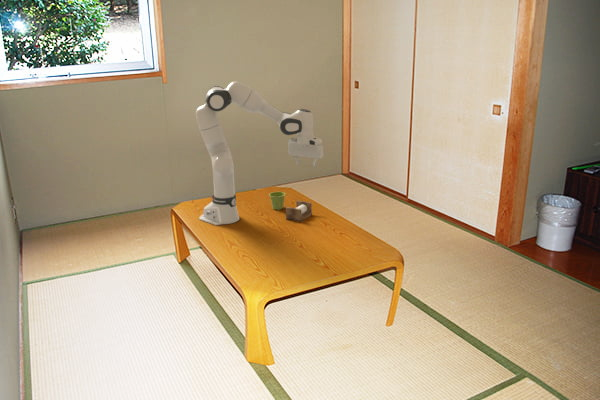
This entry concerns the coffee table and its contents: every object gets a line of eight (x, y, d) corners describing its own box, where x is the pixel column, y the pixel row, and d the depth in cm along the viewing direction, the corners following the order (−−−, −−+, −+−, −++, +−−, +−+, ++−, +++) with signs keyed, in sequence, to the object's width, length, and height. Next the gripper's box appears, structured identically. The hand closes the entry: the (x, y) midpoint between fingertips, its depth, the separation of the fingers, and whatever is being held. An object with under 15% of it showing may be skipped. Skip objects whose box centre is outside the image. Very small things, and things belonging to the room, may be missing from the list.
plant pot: (267, 207, 309) (266, 193, 306) (282, 204, 313) (281, 190, 310) (273, 212, 301) (272, 197, 298) (288, 209, 305) (288, 195, 302)
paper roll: (298, 219, 288) (301, 211, 286) (291, 215, 290) (293, 207, 288) (306, 214, 295) (308, 206, 293) (298, 210, 297) (300, 202, 294)
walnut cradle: (286, 219, 290) (285, 207, 287) (297, 212, 300) (297, 200, 298) (300, 222, 285) (300, 210, 283) (311, 214, 296) (311, 202, 294)
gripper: (285, 139, 285) (286, 163, 289) (319, 142, 275) (319, 168, 280) (291, 136, 290) (292, 161, 295) (324, 140, 280) (324, 165, 285)
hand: (305, 164), depth 287 cm, fingers open, 8 cm apart
